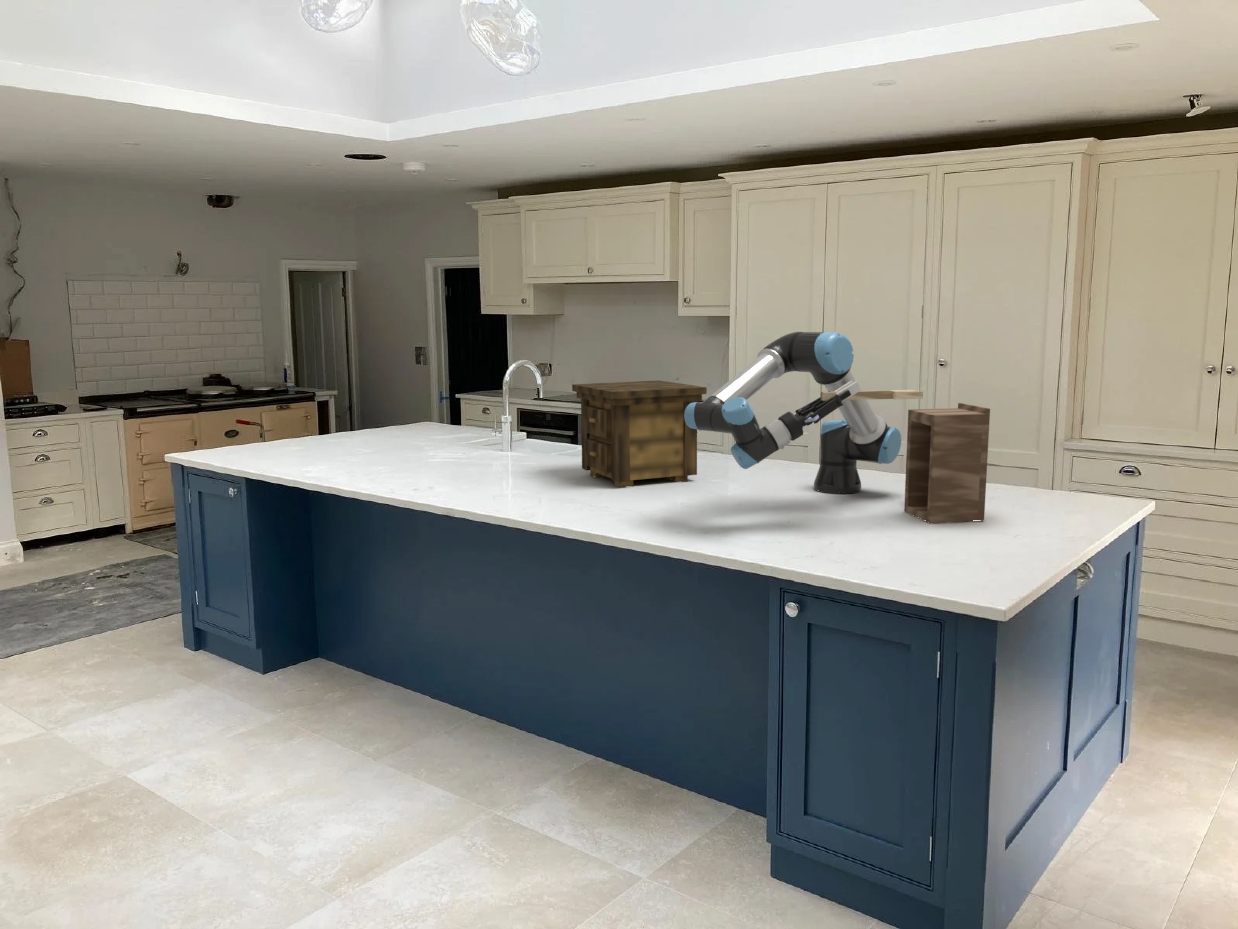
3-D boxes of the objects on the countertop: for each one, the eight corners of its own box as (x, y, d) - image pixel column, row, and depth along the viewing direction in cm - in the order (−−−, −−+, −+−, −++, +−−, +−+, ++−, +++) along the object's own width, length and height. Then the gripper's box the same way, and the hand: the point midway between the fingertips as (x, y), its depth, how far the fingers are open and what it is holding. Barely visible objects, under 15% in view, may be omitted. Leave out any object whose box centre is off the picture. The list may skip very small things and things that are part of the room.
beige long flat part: (818, 399, 264) (818, 391, 264) (913, 396, 269) (913, 389, 268) (825, 401, 259) (826, 393, 258) (922, 398, 263) (923, 390, 263)
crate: (706, 481, 330) (706, 387, 325) (613, 490, 316) (612, 391, 310) (659, 466, 362) (659, 380, 356) (573, 474, 347) (572, 384, 342)
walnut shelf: (904, 511, 280) (908, 404, 275) (955, 509, 283) (960, 402, 277) (930, 523, 264) (935, 410, 259) (984, 521, 267) (990, 408, 262)
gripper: (781, 438, 269) (851, 394, 271) (800, 445, 254) (874, 399, 256) (769, 415, 268) (839, 371, 269) (787, 421, 253) (861, 375, 254)
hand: (856, 385), depth 262 cm, fingers closed on beige long flat part, 2 cm apart
